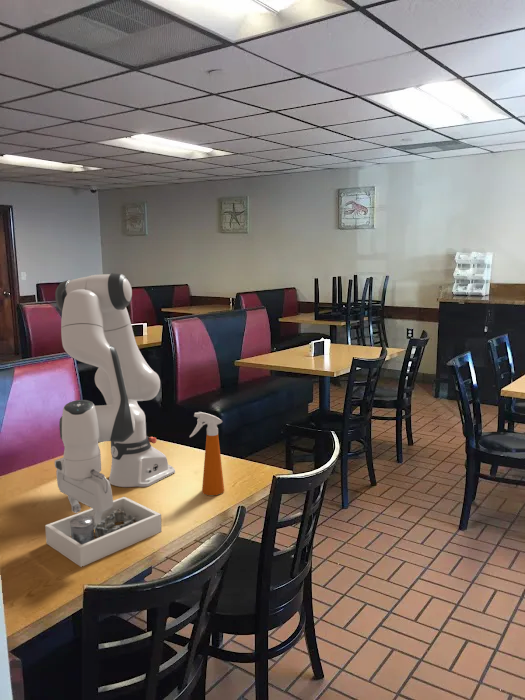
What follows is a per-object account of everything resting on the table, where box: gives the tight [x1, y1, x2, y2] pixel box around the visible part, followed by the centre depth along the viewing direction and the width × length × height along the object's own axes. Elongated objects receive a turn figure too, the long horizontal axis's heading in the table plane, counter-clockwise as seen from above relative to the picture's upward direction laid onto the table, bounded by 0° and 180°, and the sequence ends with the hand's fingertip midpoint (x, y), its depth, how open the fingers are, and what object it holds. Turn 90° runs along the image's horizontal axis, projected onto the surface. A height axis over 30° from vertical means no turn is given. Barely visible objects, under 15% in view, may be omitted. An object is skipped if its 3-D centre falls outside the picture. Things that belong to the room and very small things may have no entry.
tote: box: [44, 496, 162, 568], centre depth 148 cm, size 24×17×5 cm
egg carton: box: [94, 508, 135, 538], centre depth 152 cm, size 11×8×4 cm
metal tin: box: [70, 515, 95, 545], centre depth 144 cm, size 6×6×7 cm
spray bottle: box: [189, 411, 225, 496], centre depth 175 cm, size 7×11×26 cm, turn 110°
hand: (86, 517), depth 143 cm, fingers open, 8 cm apart
